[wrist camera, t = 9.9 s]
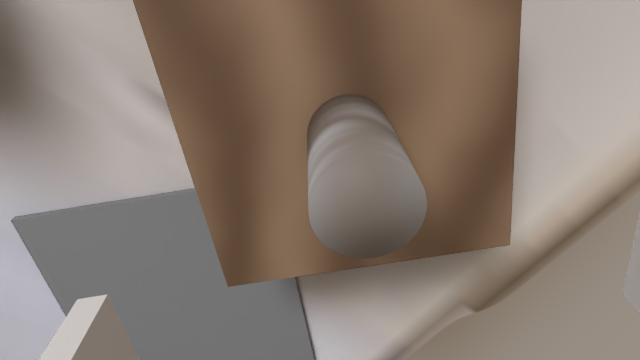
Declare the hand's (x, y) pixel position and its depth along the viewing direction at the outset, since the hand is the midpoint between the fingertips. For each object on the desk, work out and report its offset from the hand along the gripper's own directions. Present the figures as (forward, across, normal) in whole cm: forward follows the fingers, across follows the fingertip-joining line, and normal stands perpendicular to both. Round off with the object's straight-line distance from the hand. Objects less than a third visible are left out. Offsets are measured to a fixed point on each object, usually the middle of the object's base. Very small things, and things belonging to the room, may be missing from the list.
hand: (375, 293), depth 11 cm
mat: (+20, -14, -15) cm, 28 cm away
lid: (+12, +1, 0) cm, 12 cm away
